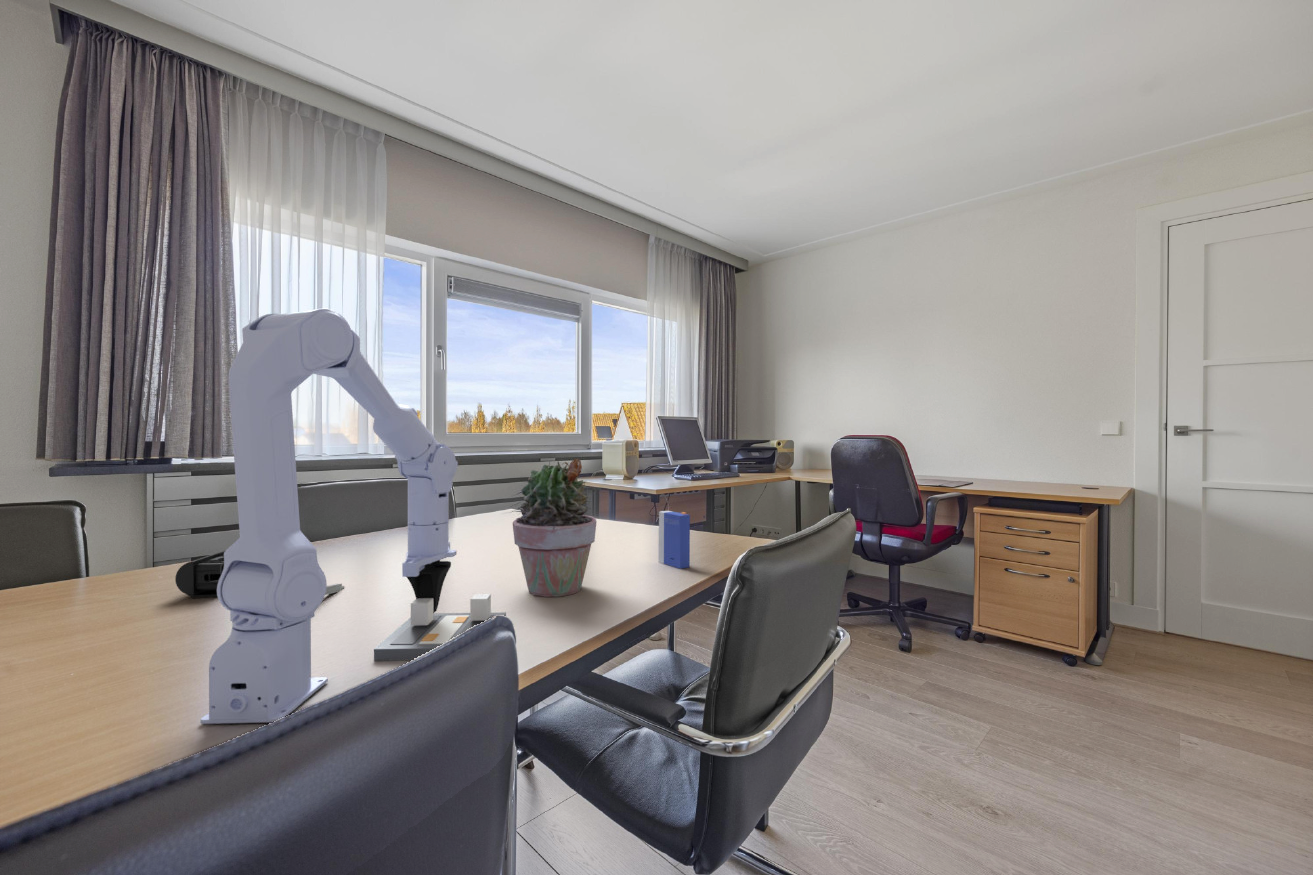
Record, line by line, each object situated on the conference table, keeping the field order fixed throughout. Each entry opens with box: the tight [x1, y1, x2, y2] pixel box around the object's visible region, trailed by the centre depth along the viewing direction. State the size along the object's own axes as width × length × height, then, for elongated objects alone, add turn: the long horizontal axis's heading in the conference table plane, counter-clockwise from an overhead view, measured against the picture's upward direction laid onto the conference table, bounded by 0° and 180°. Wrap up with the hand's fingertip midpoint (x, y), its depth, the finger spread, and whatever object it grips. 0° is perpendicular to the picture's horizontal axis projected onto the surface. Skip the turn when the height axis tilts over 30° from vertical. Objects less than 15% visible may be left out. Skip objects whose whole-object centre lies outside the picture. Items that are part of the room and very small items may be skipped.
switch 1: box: [410, 598, 433, 625], centre depth 81 cm, size 2×2×3 cm
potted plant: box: [502, 458, 604, 598], centre depth 105 cm, size 18×20×25 cm
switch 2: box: [469, 593, 492, 621], centre depth 83 cm, size 2×2×3 cm
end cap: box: [174, 549, 227, 599], centre depth 103 cm, size 10×7×7 cm
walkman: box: [658, 510, 691, 570], centre depth 124 cm, size 8×3×12 cm, turn 37°
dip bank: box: [373, 611, 507, 662], centre depth 79 cm, size 14×14×2 cm
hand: (428, 612), depth 84 cm, fingers closed
